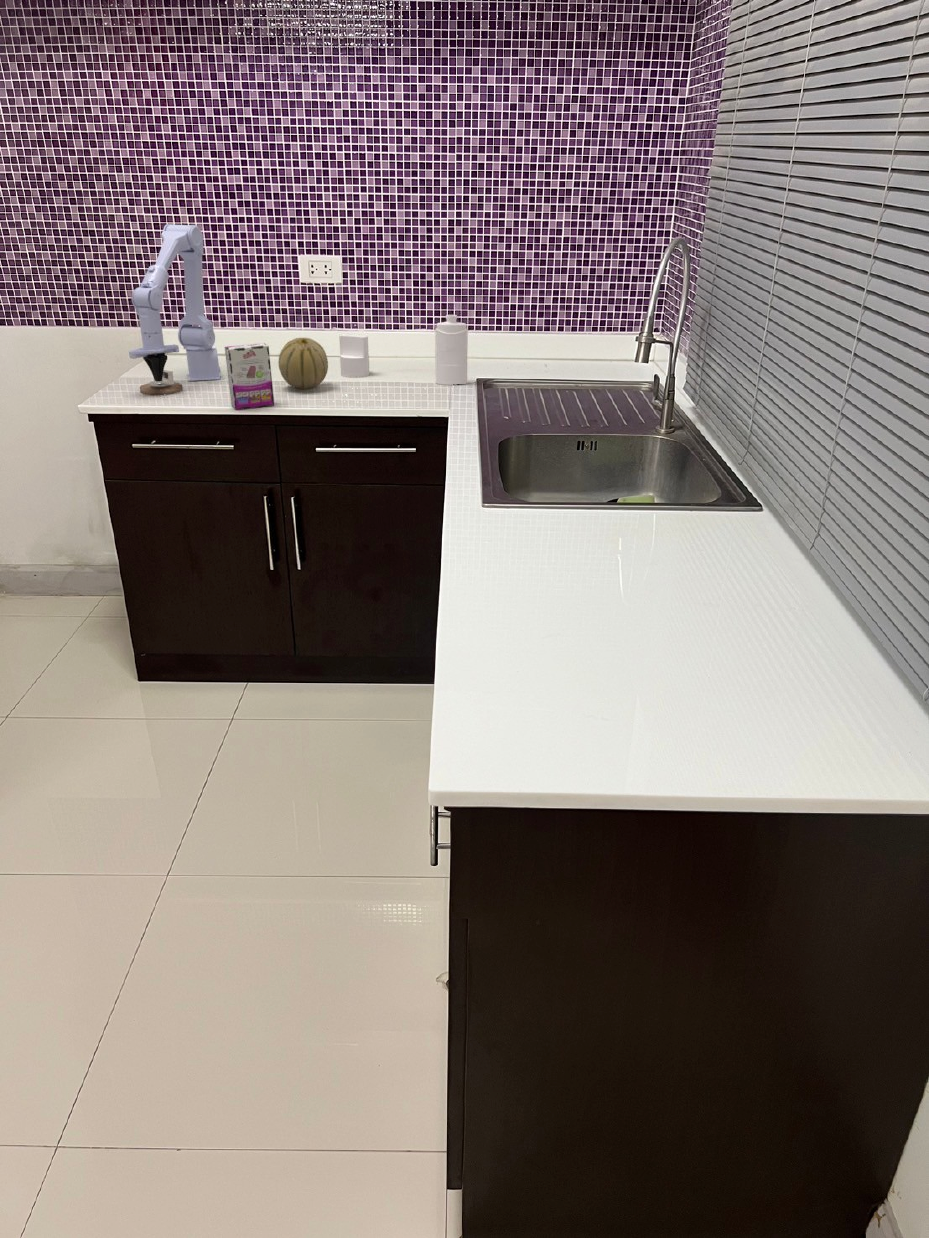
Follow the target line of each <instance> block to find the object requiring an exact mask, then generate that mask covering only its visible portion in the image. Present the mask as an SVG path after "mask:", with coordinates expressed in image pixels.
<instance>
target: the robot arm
mask: <svg viewBox="0 0 929 1238" xmlns="http://www.w3.org/2000/svg"><path fill="white" fill-rule="evenodd" d="M161 239H162V244H161V248H160V250H159V253H158V255H157V256H158V257H157V259H156V261H155V264H152V265H150V266H148V268H147V271H146V273H145V275H144V277H143V279H142V282H141V284H140V286H138V287H136V288H135V289H134V290H133V292H132V295H131V303H132V306H133V307H134V309H135V313H136V315H137V316H138V320H139V327H140V333H141V341H142V348H137V349H133V350H129V351H128V355H129V359H133V360H134V359H135V360H136V359H138V358H139V359H140V358H143V360H144V362H145V363H146V364H147V366H148V369H150V372H151V374H152V377H153V379H154V380H153V381H158V382H159V381H162V378H163V371H164V370H165V366H166V363H167V361H168V355H167V354H173V353H179V352H180V347H179V345H178V344H167V345H165V342H164V335H163V327H162V319H161V313H160V309H161V308H162V306H163V304H164V303H163V302H164V298H163V297H164V289H165V288H166V287H165V286H166V285H167V283H168V281H169V278H170V275H169V273H168V270H169V269H170V267H171V265H172V263H173V262H174V261H175V258H176V257H177V255H178V256H180V257H181V258H182V260H183V270H184V271H183V272H184V274H183V276H184V297H185V316H184V317H182V319H181V320H179V327H178V330H177V331H178V332H177V339H178V342H179V344H180V345H181V346H182V347H183V350H185V355H186V360H187V368H188V369H187V370H188V374H187V380H188V382H190V381H191V382H192V381H193V382H194V381H195V382H196V381H209V380H210V381H213V380H214V381H215V380H220V379H221V374H220V373H221V367H220V364H219V355H218V349H217V348H216V347H215V348H214V347H213V346H214V345H215V342H216V334H215V330H214V324H213V322H212V321H211V320H210V319H209V318H207V317H206V316H205V309H204V307H205V305H204V303H205V301H204V277H203V276H204V275H203V272H204V271H203V256H204V255H205V253H204V233H203V232H202V230H201V229H200V228H199V227H198V226H197V225H196V224H189V225H188V224H171V223H166V224H165V225H164V227H163V230H162V232H161Z"/></svg>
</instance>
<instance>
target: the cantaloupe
mask: <svg viewBox="0 0 929 1238" xmlns="http://www.w3.org/2000/svg"><path fill="white" fill-rule="evenodd" d="M278 369H279V372H280V375H281V377H282V379H283V380H284V381H285V382H286V384H288V385H290V386H291V387H293V388H296V389H300V390H308V389H313V388H316V387H317V386H319V385H320V384H321V383H322V382H323V381H324V380H325V378H326V376H327V373H328V371H329V361H328V356H327V352H326V351H325V349H324V347H323V346H322V345H321V344H320V343H319V342H317V341H316V340H314V339H312V338H310V337H296V338H294V339H292V340H289V341H287V342H286V343H285V344H284V346H283V347H282V348H281V350H280V352H279V355H278Z"/></svg>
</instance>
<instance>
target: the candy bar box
mask: <svg viewBox="0 0 929 1238" xmlns="http://www.w3.org/2000/svg"><path fill="white" fill-rule="evenodd" d="M269 346H270V345H268V344H266V343H265V342H263V343H261V342H260V343H249V344H240V345H230V346H224V354H225V362H226V369H227V370H226V371H227V379H228V380H227V381H228V386H229V395H230V405H231V407H232V408H233V409H234V410H236V411H237V410H240V411H241V410H247V409H248V410H249V409H256V408H267V407H272V406H275V397H274V388H273V387H274V386H273V385H274V384H273V378H272V376H273V375H272V368H271V358H270V347H269Z"/></svg>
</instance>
